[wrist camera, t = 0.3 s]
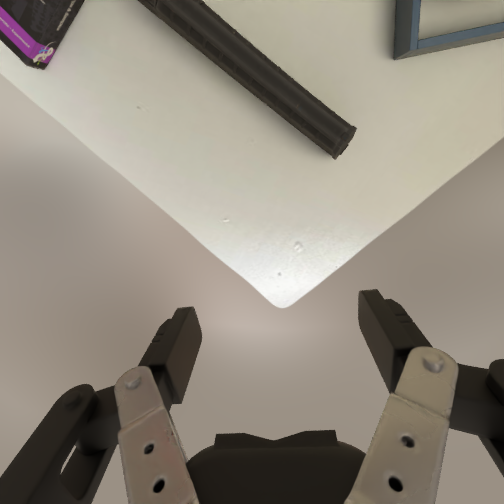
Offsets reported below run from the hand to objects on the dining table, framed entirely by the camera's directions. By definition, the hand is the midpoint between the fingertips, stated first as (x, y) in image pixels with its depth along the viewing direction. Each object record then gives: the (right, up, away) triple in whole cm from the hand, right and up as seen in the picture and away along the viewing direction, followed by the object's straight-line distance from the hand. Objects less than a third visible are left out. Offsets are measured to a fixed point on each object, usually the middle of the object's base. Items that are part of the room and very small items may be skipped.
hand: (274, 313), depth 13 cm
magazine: (-1, +26, +20) cm, 33 cm away
